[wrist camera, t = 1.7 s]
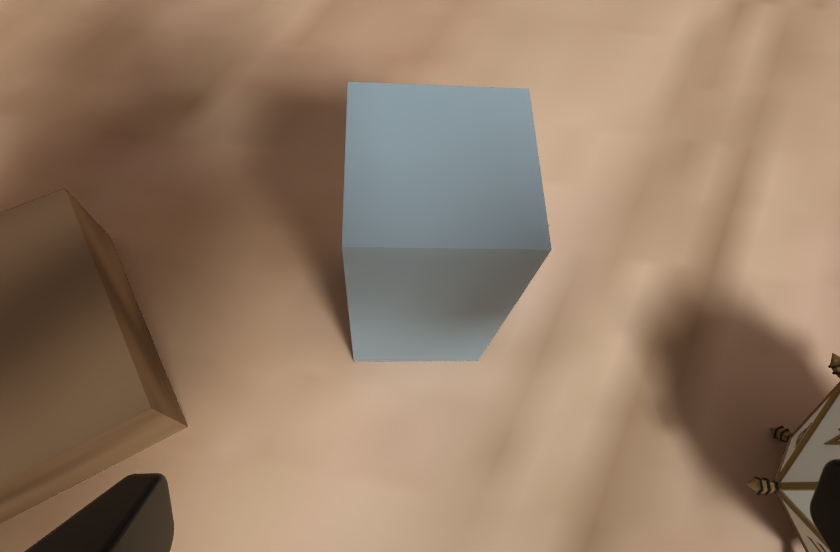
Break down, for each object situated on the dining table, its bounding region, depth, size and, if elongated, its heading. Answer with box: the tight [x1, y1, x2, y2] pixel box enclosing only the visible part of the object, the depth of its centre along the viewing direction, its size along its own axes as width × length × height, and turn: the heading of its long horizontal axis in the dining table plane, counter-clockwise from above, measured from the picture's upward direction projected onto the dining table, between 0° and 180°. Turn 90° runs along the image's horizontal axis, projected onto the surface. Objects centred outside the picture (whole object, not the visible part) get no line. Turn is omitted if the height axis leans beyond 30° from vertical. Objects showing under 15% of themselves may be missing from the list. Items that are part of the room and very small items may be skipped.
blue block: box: [342, 82, 551, 361], centre depth 19 cm, size 5×5×10 cm
